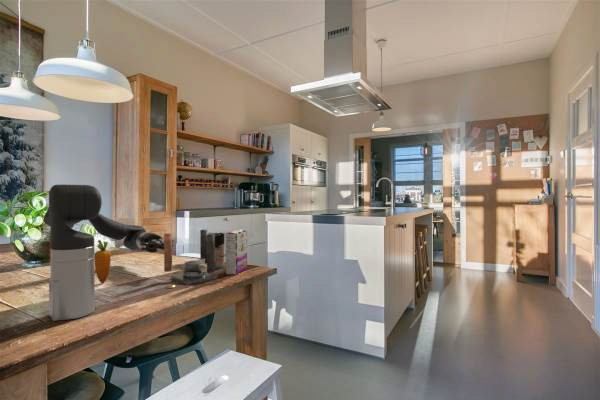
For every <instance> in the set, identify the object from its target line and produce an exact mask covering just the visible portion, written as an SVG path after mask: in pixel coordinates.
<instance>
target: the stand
mask: <svg viewBox="0 0 600 400" xmlns="http://www.w3.org/2000/svg"><path fill="white" fill-rule="evenodd" d="M171 279H173V280H175V281H177V282H179V283H182V284H184V285H186V286H187V285H192V284H196V283H201V282H206V281H211V280H217V279H218V275H217V274H214V273H207V272H204V271H194V272H189V271H185V270H182V273H177V274H171ZM165 286H166V289H174V288H177V285H176V284H167V285H165Z"/></svg>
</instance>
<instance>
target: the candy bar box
mask: <svg viewBox="0 0 600 400" xmlns="http://www.w3.org/2000/svg"><path fill="white" fill-rule="evenodd" d="M247 232H248V231H247V229H234V230H230V231H228V232H225V274H226V275H228V276H229V275H233V276H235V275H236V276H237V275H240V273H242V272H244V271H246V270H247V269H248V244H247V243H248V235H247V234H248V233H247Z"/></svg>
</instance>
